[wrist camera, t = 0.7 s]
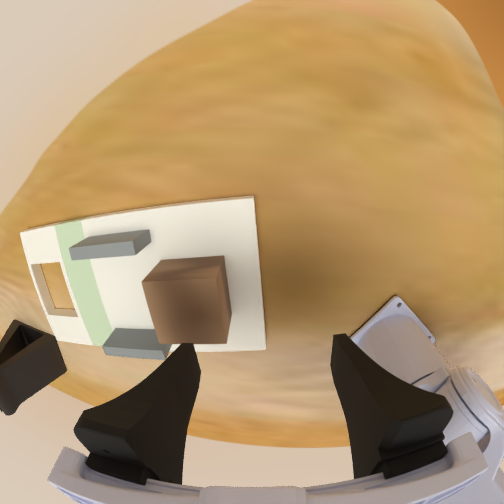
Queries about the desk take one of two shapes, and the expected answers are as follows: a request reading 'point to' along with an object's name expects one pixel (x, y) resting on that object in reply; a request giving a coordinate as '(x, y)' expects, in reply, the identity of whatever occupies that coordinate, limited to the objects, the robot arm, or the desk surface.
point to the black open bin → (26, 364)
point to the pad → (83, 282)
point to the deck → (144, 260)
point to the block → (189, 300)
